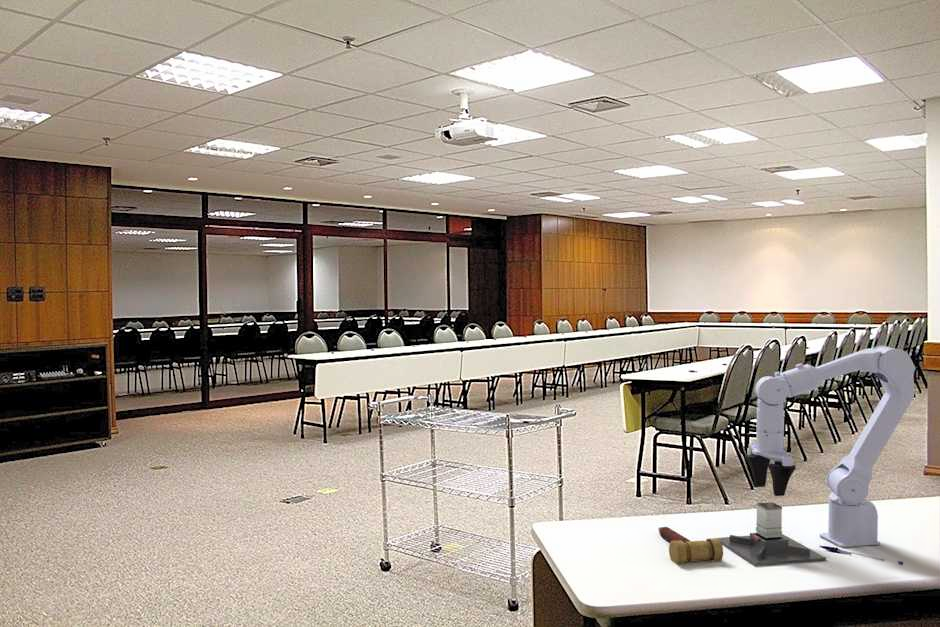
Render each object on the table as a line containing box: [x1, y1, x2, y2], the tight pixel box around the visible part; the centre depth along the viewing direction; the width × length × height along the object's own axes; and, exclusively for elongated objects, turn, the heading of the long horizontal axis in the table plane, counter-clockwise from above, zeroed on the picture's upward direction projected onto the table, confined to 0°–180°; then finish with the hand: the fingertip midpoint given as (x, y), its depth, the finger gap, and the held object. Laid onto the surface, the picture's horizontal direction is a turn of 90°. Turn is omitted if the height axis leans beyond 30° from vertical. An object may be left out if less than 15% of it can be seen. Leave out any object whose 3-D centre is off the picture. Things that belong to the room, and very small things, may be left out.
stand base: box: [717, 532, 827, 567], centre depth 167 cm, size 16×16×3 cm
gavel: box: [658, 526, 724, 565], centre depth 170 cm, size 21×5×10 cm
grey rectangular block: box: [755, 501, 783, 538], centre depth 167 cm, size 4×4×6 cm
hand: (769, 490), depth 176 cm, fingers open, 7 cm apart
